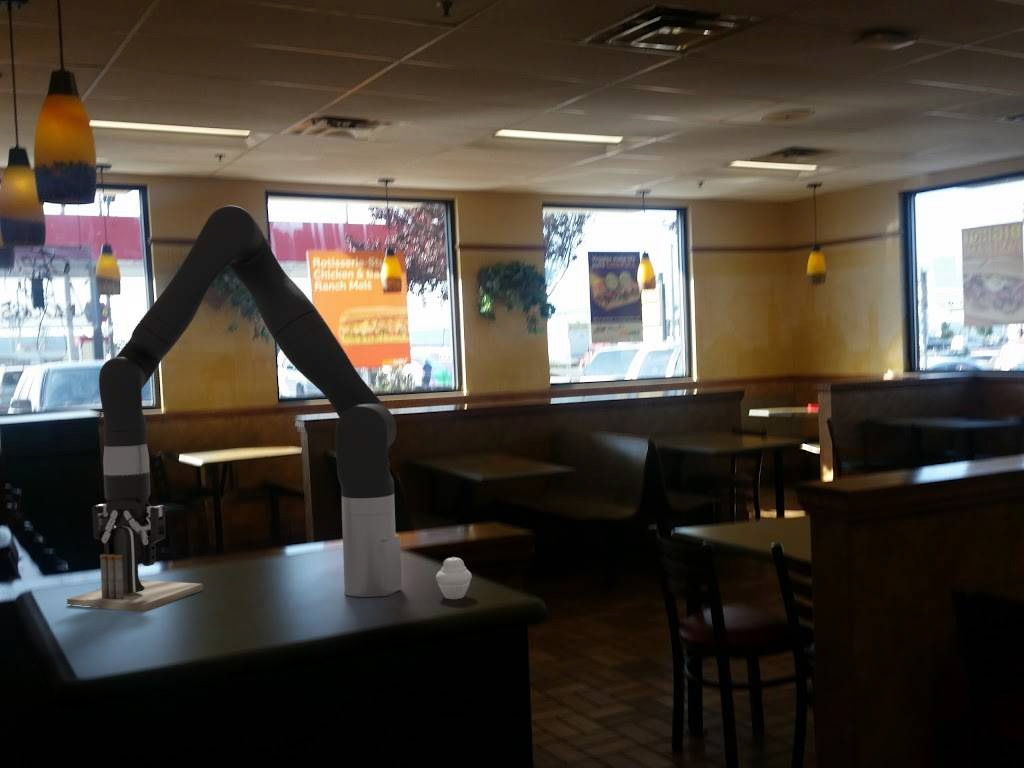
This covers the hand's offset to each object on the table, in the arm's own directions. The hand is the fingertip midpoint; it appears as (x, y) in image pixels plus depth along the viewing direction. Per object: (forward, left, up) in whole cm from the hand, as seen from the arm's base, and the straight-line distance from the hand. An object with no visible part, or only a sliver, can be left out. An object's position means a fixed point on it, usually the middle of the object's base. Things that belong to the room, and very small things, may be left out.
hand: (130, 564), depth 182 cm
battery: (0, 0, -5) cm, 5 cm away
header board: (0, -1, -6) cm, 6 cm away
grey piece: (-55, -15, -6) cm, 57 cm away
